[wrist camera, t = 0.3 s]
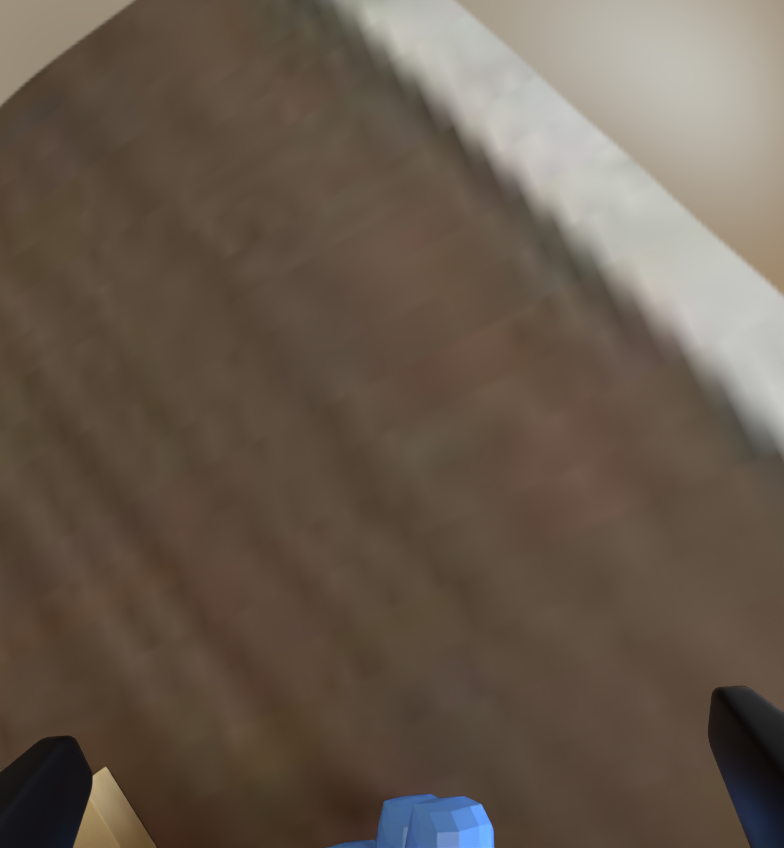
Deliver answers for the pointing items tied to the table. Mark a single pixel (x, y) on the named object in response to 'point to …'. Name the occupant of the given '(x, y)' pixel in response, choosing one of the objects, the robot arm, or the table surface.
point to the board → (110, 818)
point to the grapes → (430, 824)
